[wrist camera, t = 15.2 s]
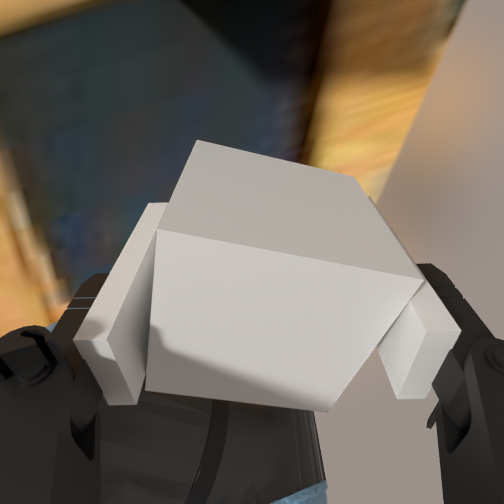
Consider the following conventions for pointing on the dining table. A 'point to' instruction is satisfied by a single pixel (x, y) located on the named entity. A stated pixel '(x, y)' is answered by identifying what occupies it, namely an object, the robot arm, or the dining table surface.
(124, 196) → the dining table surface
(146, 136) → the dining table surface
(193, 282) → the light grey cube
